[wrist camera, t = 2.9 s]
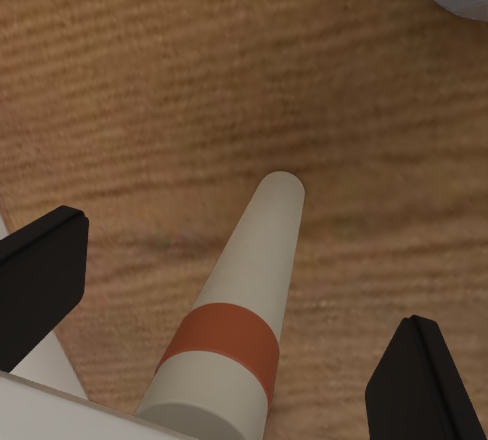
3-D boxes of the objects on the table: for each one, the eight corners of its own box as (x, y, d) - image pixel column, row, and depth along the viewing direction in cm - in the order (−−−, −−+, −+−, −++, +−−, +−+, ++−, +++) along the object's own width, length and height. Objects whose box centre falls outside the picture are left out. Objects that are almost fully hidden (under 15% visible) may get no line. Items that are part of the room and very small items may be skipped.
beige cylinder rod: (312, 178, 19) (277, 432, 6) (297, 222, 20) (241, 516, 7) (263, 163, 19) (132, 380, 6) (251, 208, 20) (118, 469, 7)
